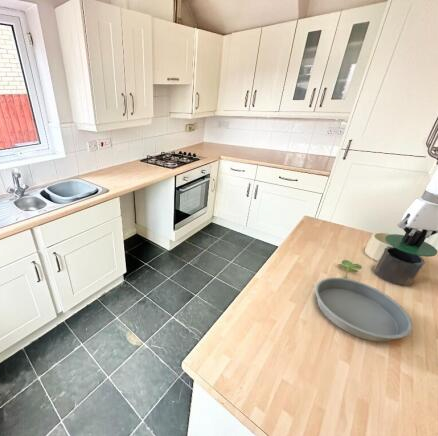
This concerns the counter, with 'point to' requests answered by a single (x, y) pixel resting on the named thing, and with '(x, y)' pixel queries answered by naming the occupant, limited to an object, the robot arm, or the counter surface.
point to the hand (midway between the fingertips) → (410, 243)
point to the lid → (411, 245)
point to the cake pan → (362, 310)
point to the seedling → (350, 266)
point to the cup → (398, 266)
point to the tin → (377, 245)
